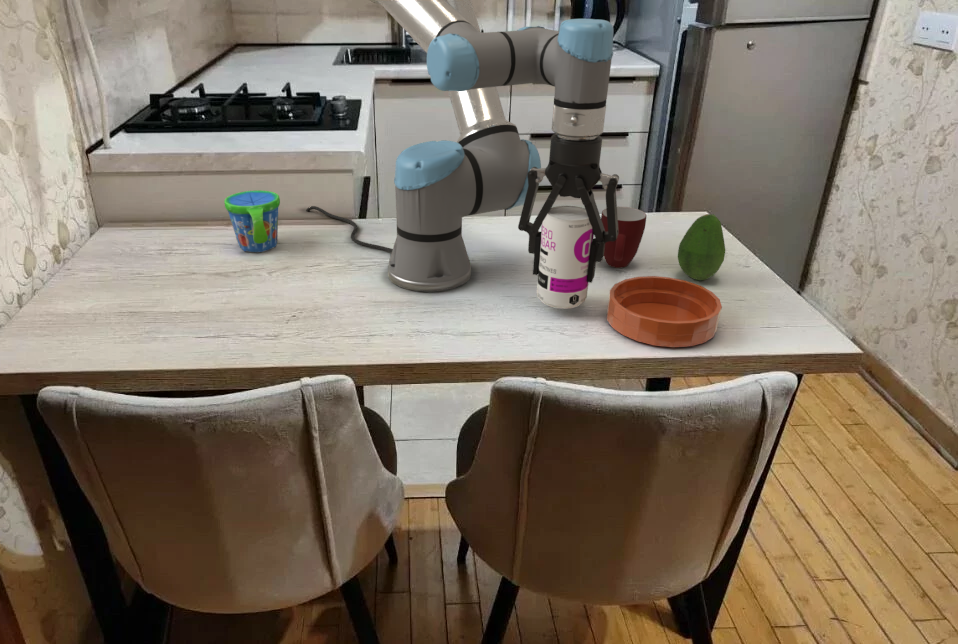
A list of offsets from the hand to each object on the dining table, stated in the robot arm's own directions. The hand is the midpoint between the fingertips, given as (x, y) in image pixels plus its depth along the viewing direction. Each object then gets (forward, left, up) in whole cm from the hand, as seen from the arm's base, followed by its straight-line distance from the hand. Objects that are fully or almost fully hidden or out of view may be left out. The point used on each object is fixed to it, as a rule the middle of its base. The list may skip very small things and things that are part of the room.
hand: (563, 275), depth 119 cm
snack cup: (-63, -4, -6) cm, 63 cm away
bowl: (+16, +3, -6) cm, 17 cm away
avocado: (+17, +24, -6) cm, 30 cm away
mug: (+3, +22, -6) cm, 23 cm away
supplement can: (0, 0, -5) cm, 5 cm away
